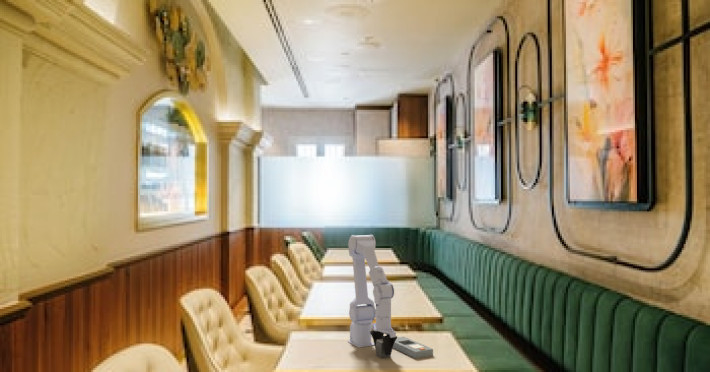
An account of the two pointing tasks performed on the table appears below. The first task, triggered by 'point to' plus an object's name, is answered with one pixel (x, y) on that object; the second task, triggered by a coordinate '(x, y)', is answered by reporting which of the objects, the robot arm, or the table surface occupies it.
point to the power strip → (412, 348)
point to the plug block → (380, 349)
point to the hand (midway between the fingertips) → (383, 352)
